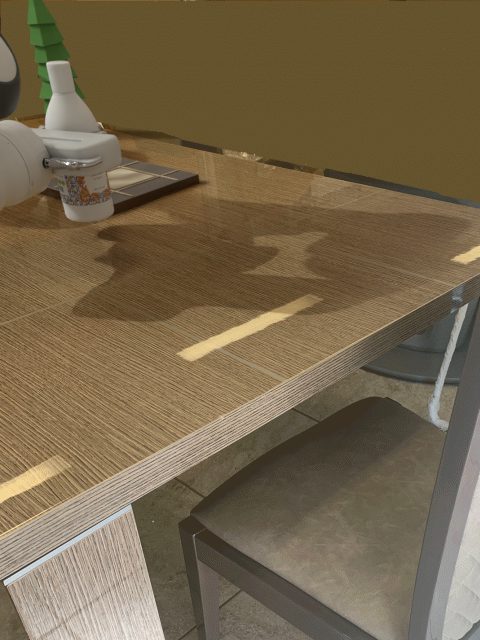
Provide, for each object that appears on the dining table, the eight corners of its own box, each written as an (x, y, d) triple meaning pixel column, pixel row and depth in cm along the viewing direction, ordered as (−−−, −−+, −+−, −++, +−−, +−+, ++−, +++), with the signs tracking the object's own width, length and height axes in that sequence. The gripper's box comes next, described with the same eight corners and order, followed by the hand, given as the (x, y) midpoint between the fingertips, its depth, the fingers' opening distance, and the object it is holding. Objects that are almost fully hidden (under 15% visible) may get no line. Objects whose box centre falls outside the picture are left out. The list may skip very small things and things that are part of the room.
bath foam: (86, 227, 91) (51, 68, 79) (56, 217, 94) (17, 63, 82) (124, 213, 96) (96, 61, 84) (94, 204, 99) (63, 56, 87)
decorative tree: (39, 137, 143) (-3, -27, 125) (67, 128, 150) (31, -29, 132) (74, 141, 140) (37, -27, 122) (101, 131, 147) (70, -29, 129)
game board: (36, 192, 112) (34, 183, 111) (124, 165, 125) (122, 156, 124) (113, 214, 103) (111, 204, 102) (199, 182, 116) (198, 173, 115)
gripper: (80, 140, 74) (139, 115, 85) (-65, 128, 79) (8, 105, 89) (92, 195, 78) (147, 164, 89) (-47, 180, 83) (21, 153, 93)
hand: (76, 134), depth 89 cm, fingers closed on bath foam, 7 cm apart
